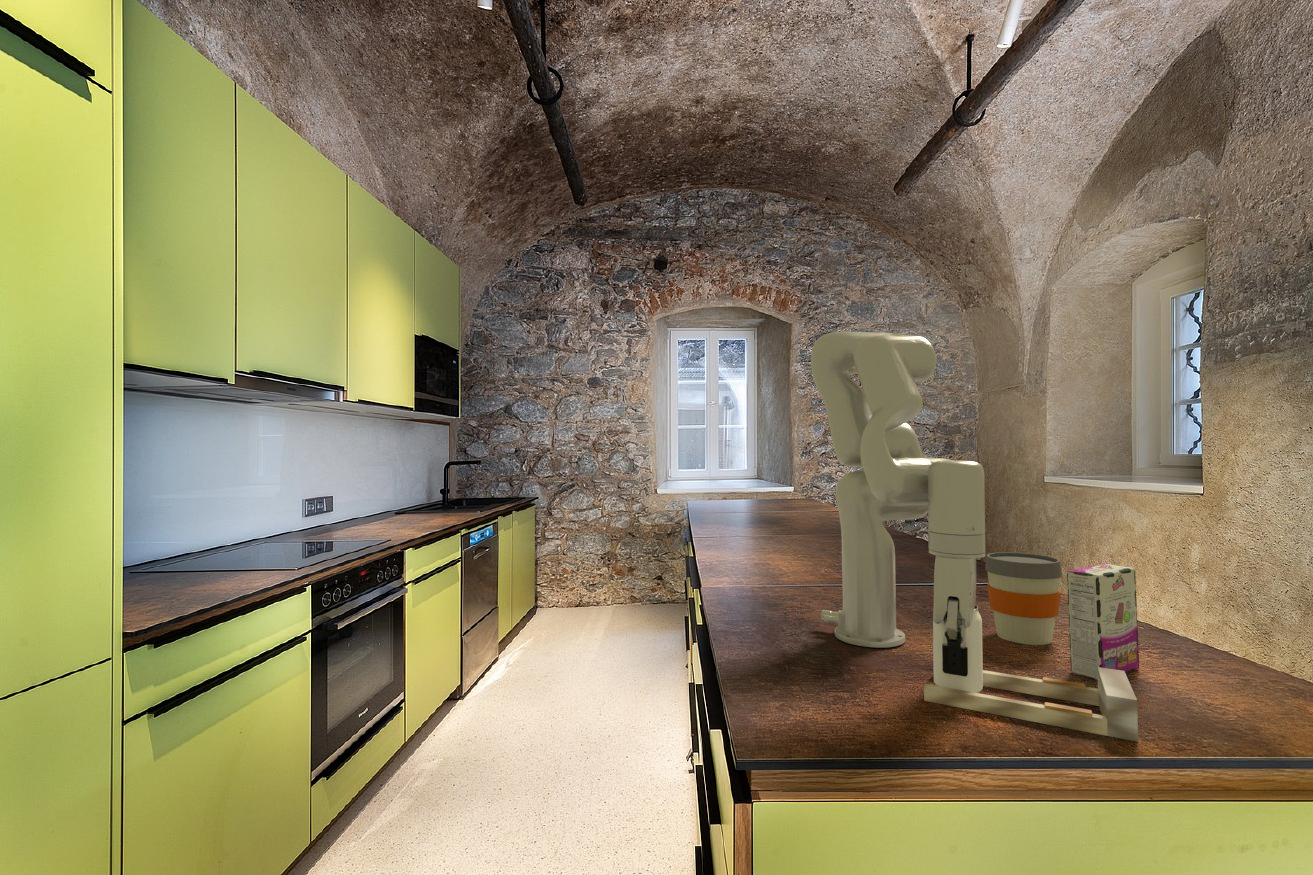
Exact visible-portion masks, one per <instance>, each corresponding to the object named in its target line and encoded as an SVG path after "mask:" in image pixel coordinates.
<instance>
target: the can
mask: <svg viewBox="0 0 1313 875" xmlns="http://www.w3.org/2000/svg"><path fill="white" fill-rule="evenodd" d="M962 620H963V618H962ZM962 620H958V624H961V625H962ZM982 620H983V619H982V616H981V614H980V612H979V606H978V605H976V604H975V609H974V610H973V617H972V622H971V626H969V627H968V628H966V641H965V647H968V675H967V676H966V677H964V676H959V675H953V674H947V673H944V672H943V665H942V644H943V637H944V618H943V620H942V622H939V624H935V623H934V621H933V620H932V641H933V642H932V650H933V651H932V653H933V654H932V655H933V659H932V661H933V664H932V665H934V669H933V682H934V685H935V686H941V687H946V688H952V689H957V690H963V691H969V692H974V693H980V692H981V691H982V690H983V689H984V688H983V687H984V686H983V670H984V669H983V621H982ZM958 632H960V634H961V630H958Z"/></svg>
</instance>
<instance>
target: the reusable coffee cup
mask: <svg viewBox="0 0 1313 875" xmlns="http://www.w3.org/2000/svg"><path fill="white" fill-rule="evenodd" d="M1062 568H1063V567H1062V562H1061V559H1059V558H1057V557H1053V556H1050V555H1045V554H1044V555H1043V554H1037V553H1025V552H1014V551H1013V552H1009V551H1007V552H1003V551H1001V552H999V551H998V552H991V553H988V554H986V555H985V566H984V570H985V571H986V572H987V573H986V574H987V579H988V583H986V587H987V593H988V600H989V604H990V605H989V606H990V609H991V610H992V611H993V618H994V624H995V628H996V630H995V631H996V635H997V636H998V638H1000V639H1002V640H1005V641H1008V642H1011V643H1015V644H1016V643H1017V644H1023V645H1029V646H1030V645H1031V646H1032V645H1033V646H1038V645H1039V646H1045V645H1050V644H1051V643H1052V642H1053V637H1054V630H1055V621H1056V617H1058V616H1059V612H1060V606H1061V605H1060V604H1061V596H1062V591H1061V590H1060V583H1061V578H1062V577H1063V570H1062Z"/></svg>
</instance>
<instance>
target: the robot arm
mask: <svg viewBox="0 0 1313 875" xmlns="http://www.w3.org/2000/svg"><path fill="white" fill-rule="evenodd" d="M936 366H937V354H936V351H935V349H934V346H933V345H932V343H931V342H930V341H929V340H928V339H926V338H925V337H923V336H918V335H909V334H904V333H903V334H902V333H896V332H884V331H882V332H880V331H879V332H878V331H877V332H875V331H874V332H873V331H870V332H869V331H835V332H833V331H832V332H828V333H825V334H823V335H821V336H820V337H818V338H817V339H816V340H815V341H814V344H813V346H812V350H811V353H810V367H811V369H810V370H811V373H812V374H811V375H812V378H813V381H814V383H815V386H816V389H817V392H818V393H819V395H820V398H821V400H822V402H823V405H824V407H825V408H824V409H825V411H826V417H827V422H828V425H829V432H830V436H831V441H832V445H833V450H834V453H835V456H836V459H837V461H838V462H839V463H840V464H841V465H843V466H845V467H849V468H863V470H855V471H851V472H848V473H845V474H844V475H843V476H841V477H840V478H839V480H838V481H837V484H836V488H835V500H836V505H837V511H838V516H839V524H840V534H841V570H842V571H841V576H842V581H841V582H842V586H841V587H842V610H841V609H840V610H838V611H832V610H830V609H829V610H828V609H827V610H826V609H822V610H821V613H820V617H821V620H823V622H824V623H832V624H835V625H836V627H835V628H834V636H835V638H836V639H837V640H840V641H842V642H844V643H846V644H850V645H854V646H858V647H865V648H875V649H876V648H877V649H879V648H881V649H883V648H884V649H885V648H895V647H898V646H901V645H903V644H904V643H905V642H906V634H905V633H904V632H903V631H902V630H900V629H898V628H897V604H896V602H897V601H896V600H897V598H896V597H897V596H896V588H897V587H896V550H895V549H896V548H895V544H894V540H893V538H892V536H891V534H890V533H889V532H888V530H887V529H886V528H885V526H884V524H883V522H885V521H886V522H887V521H903V520H904V521H905V520H908V521H909V520H912V521H913V520H917V519H921V518H923V517H925V516H926V515H927V520H928V521H927V524H928V526H927V527H928V528H927V529H928V530H927V532H928V534H927V537H928V541H927V542H928V554H931V555H933V556H935V560H934V569H933V570H934V572H933V573H934V574H933V607H932V608H933V609H932V611H933V612H932V613H933V614H932V622H933V621H934V623H935V624H939V622H942V620H943V618H944V637H943V644H942V665H943V672H944V673H947V674H953V675H959V676H964V677H966V676H967V675H968V647H965V641H966V628H968V627H969V626H971V622H972V617H973V610H974V609H975V605H976V598H977V597H976V596H977V559H981V558H986V515H985V514H986V508H985V506H986V505H985V504H986V502H985V501H986V500H985V499H986V498H985V493H986V491H985V470H984V467H983V465H982V464H981V463H979V462H977V461H973V460H954V459H953V460H952V459H949V458H945V457H944V458H943V457H924V456H923V453H922V449H921V445H920V442H919V439H918V438H919V437H918V436H917V433H916V432H915V430H914V429H913V427H912V426H911V425H910V424H909V421H911V420H913V419H914V418H915V417H916V416H918V415H919V413H920V412H921V411H922V409H923V404H924V401H923V398H922V395H921V394H920V391H919V389H918V386H917V384H916V383H919V382H925V381H926V380H928V379H930V378H931V376H933V373H934V372H935V370H936ZM850 375H857V377H858V379H859V382H860V385H861V386H860V385H859V384H858V383H857V382H856V381H855V380H853V379H852V378H851V377H850ZM915 382H916V383H915ZM962 618H963V620H962ZM958 620H962V625H961V624H958ZM958 630H961V634H960V632H958Z"/></svg>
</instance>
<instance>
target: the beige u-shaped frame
mask: <svg viewBox="0 0 1313 875" xmlns="http://www.w3.org/2000/svg"><path fill="white" fill-rule="evenodd" d="M932 665H933V664H932ZM1097 668H1098V680H1097V687H1090V686H1086V683H1083V682H1078V681H1076V682H1075V681H1070V680H1065V679H1057V678H1052V677H1051V678H1050V677H1046V676H1042V679H1040V678H1034V677H1028V676H1021V675H1016V674H1009V673H1003V672H997V671H992V670H991V671H990V670H986V669H985V670H984V669H983V687H986V688H992V689H998V690H1005V691H1009V692H1015V693H1021V694H1027V695H1032V696H1038V697H1045V698H1051V699H1054V700H1055V699H1056V700H1063V701H1067V702H1073V703H1078V704H1079V703H1080V704H1085V705H1092V706H1097V707H1099V710H1100V714H1097V713H1093V711H1092V710H1091V709H1086V708H1080V707H1075V706H1069V705H1064V704H1058V703H1053V702H1044V704H1041V703H1035V702H1030V701H1024V700H1019V699H1014V698H1013V699H1012V698H1008V697H1007V698H1006V697H1001V696H996V695H992V694H991V695H989V694H984V693H980V692H979V693H974V692H969V691H963V690H957V689H952V688H946V687H941V686H937V685H936V684H930V683H929V684H928V683H925V684H924V687H923V696H924V697H923V700H924V702H929V703H934V704H940V705H944V706H948V707H949V706H950V707H955V708H959V709H966V710H969V711H970V710H971V711H977V712H981V713H986V714H992V715H995V716H996V715H997V716H1003V717H1006V718H1007V717H1008V718H1012V719H1018V720H1023V721H1028V722H1034V723H1039V724H1044V725H1049V726H1054V727H1060V728H1065V729H1070V730H1075V731H1080V732H1086V733H1091V734H1095V735H1101V736H1107V737H1112V738H1115V739H1122V740H1127V741H1133V742H1139V730H1138V728H1139V724H1138V720H1139V718H1138V717H1139V716H1138V699H1137V696H1136V694H1135V692H1134V690H1133V688H1132V685H1131V683H1130V681H1129V679H1128V677H1127V674H1125V671H1122V670H1115V669H1108V668H1101V667H1097ZM933 670H934V665H933Z"/></svg>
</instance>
